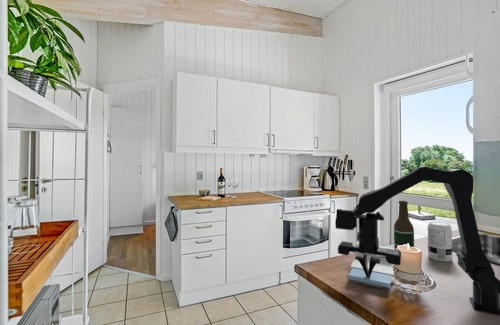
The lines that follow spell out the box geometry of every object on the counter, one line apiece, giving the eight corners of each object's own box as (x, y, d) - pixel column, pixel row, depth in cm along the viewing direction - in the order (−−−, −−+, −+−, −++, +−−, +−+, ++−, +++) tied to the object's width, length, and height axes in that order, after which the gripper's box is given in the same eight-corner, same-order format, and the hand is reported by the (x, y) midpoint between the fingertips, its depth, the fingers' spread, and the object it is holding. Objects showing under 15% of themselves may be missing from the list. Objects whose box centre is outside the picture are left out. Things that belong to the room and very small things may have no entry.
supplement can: (424, 254, 111) (423, 221, 111) (444, 255, 110) (443, 221, 110) (435, 262, 103) (434, 225, 103) (457, 263, 102) (456, 226, 102)
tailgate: (391, 282, 86) (390, 291, 79) (352, 274, 92) (348, 281, 86) (391, 275, 86) (390, 283, 79) (352, 267, 93) (348, 275, 86)
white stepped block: (393, 283, 86) (393, 260, 86) (350, 274, 93) (350, 253, 93) (395, 268, 98) (394, 248, 98) (356, 261, 105) (356, 242, 105)
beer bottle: (416, 254, 112) (415, 200, 112) (412, 259, 106) (411, 203, 106) (396, 250, 117) (395, 199, 117) (392, 255, 111) (391, 201, 111)
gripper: (401, 229, 85) (401, 273, 86) (344, 221, 96) (344, 261, 96) (400, 239, 76) (400, 289, 77) (337, 229, 86) (337, 274, 87)
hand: (368, 277), depth 84 cm, fingers closed, pressing on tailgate
